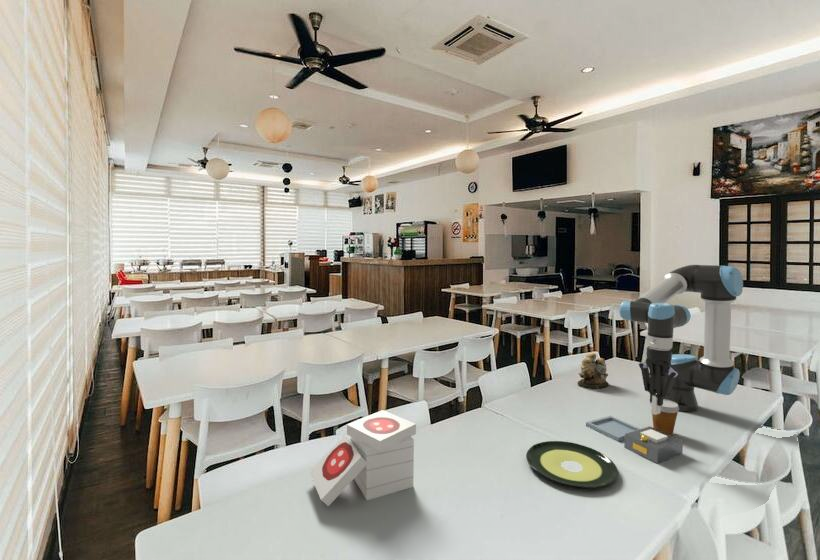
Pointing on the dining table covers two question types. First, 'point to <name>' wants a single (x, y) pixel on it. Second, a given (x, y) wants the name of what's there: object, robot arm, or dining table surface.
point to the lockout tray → (612, 427)
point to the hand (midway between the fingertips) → (655, 413)
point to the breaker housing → (653, 446)
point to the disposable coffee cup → (666, 417)
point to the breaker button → (654, 436)
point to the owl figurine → (593, 372)
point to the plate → (552, 453)
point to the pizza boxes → (369, 458)
